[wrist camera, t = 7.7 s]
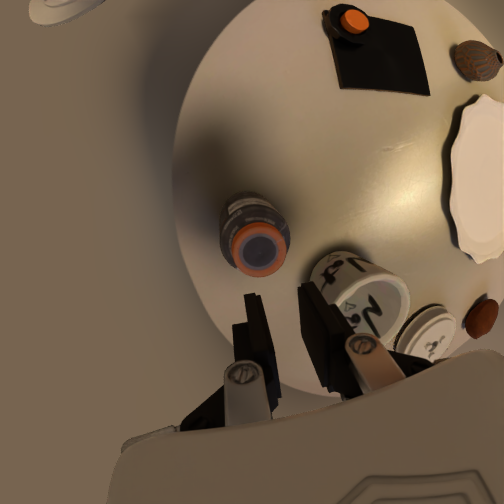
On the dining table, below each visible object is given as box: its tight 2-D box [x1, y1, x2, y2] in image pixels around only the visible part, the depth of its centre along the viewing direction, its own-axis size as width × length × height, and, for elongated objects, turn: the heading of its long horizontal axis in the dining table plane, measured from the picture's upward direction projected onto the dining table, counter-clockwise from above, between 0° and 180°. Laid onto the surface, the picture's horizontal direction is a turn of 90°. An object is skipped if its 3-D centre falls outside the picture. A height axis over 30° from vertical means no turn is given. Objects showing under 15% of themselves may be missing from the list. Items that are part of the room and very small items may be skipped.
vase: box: [455, 40, 504, 81], centre depth 20 cm, size 7×7×9 cm
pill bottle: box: [219, 192, 290, 277], centre depth 25 cm, size 6×6×11 cm
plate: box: [449, 94, 504, 264], centre depth 30 cm, size 29×29×2 cm
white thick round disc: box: [396, 306, 456, 362], centre depth 39 cm, size 13×13×5 cm
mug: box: [310, 251, 410, 346], centre depth 30 cm, size 10×15×10 cm
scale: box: [322, 4, 430, 96], centre depth 23 cm, size 11×14×2 cm
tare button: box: [340, 10, 369, 34], centre depth 20 cm, size 3×3×2 cm
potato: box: [465, 299, 499, 339], centre depth 39 cm, size 7×9×6 cm
